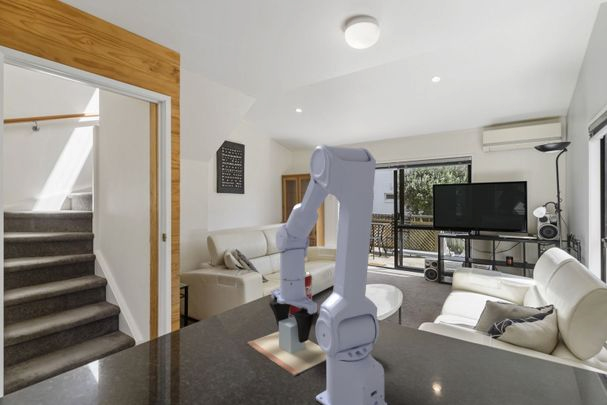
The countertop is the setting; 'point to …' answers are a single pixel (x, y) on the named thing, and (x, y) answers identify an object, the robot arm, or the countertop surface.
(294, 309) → the soda can
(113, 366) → the countertop surface
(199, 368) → the countertop surface
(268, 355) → the mat
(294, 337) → the block
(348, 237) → the robot arm
